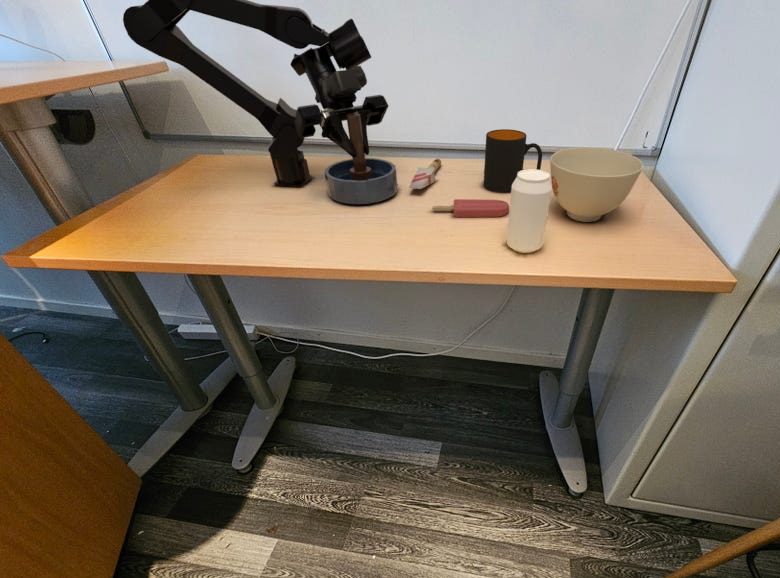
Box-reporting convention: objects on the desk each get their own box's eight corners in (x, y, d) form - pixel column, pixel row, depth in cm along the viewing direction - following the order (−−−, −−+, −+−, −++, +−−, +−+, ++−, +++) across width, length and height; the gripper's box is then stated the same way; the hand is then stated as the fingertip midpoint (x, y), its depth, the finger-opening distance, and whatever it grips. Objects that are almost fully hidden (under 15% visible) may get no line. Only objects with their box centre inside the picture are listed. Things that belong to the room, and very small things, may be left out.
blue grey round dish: (318, 204, 85) (313, 179, 81) (343, 179, 95) (339, 156, 92) (387, 209, 83) (384, 183, 80) (404, 183, 94) (403, 159, 90)
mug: (537, 195, 88) (544, 142, 81) (481, 191, 90) (483, 139, 83) (538, 181, 94) (545, 131, 87) (485, 178, 96) (488, 128, 89)
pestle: (349, 192, 87) (337, 116, 78) (356, 184, 90) (346, 111, 81) (369, 193, 87) (360, 117, 77) (375, 185, 90) (367, 112, 80)
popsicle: (432, 198, 83) (507, 198, 83) (433, 206, 84) (507, 206, 84) (431, 209, 79) (510, 209, 79) (432, 217, 80) (509, 217, 80)
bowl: (632, 236, 74) (650, 178, 67) (541, 230, 76) (550, 173, 69) (621, 201, 85) (636, 149, 78) (542, 196, 87) (550, 145, 81)
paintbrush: (405, 180, 86) (430, 155, 101) (406, 193, 88) (430, 167, 103) (423, 181, 85) (445, 156, 100) (423, 195, 87) (445, 168, 102)
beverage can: (501, 252, 70) (508, 178, 62) (510, 236, 74) (518, 165, 66) (538, 258, 68) (550, 183, 60) (545, 241, 72) (557, 170, 64)
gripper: (284, 53, 70) (325, 138, 72) (378, 45, 79) (414, 121, 80) (279, 99, 80) (316, 173, 81) (363, 87, 89) (395, 155, 90)
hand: (361, 155), depth 83 cm, fingers closed on pestle, 2 cm apart
